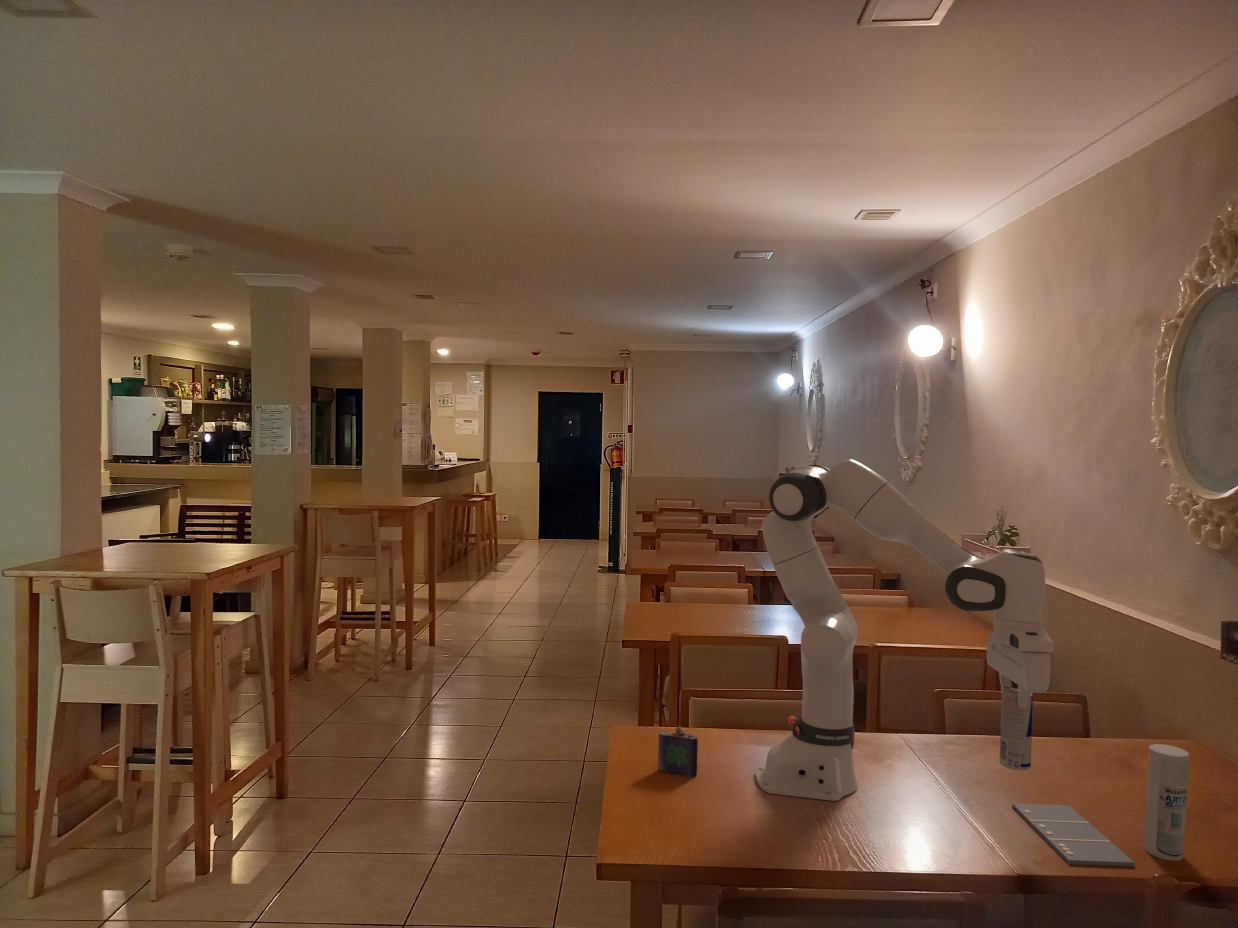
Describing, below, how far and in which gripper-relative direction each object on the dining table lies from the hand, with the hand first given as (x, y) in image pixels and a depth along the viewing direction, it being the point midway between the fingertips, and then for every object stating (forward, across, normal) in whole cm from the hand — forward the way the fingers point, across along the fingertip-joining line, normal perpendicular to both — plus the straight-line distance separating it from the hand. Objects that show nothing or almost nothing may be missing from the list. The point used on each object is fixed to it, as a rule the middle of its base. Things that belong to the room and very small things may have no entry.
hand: (1013, 701), depth 169 cm
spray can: (+27, +6, +27) cm, 39 cm away
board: (+26, 0, +12) cm, 29 cm away
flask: (+27, -24, -65) cm, 74 cm away
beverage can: (+13, +1, 0) cm, 13 cm away
